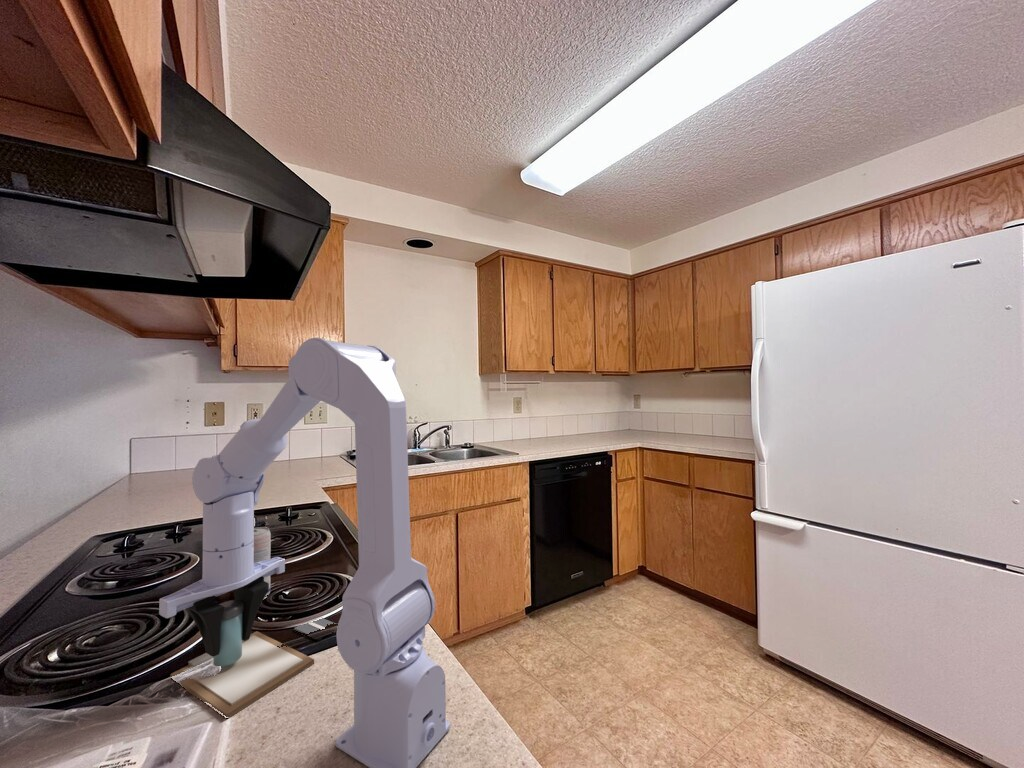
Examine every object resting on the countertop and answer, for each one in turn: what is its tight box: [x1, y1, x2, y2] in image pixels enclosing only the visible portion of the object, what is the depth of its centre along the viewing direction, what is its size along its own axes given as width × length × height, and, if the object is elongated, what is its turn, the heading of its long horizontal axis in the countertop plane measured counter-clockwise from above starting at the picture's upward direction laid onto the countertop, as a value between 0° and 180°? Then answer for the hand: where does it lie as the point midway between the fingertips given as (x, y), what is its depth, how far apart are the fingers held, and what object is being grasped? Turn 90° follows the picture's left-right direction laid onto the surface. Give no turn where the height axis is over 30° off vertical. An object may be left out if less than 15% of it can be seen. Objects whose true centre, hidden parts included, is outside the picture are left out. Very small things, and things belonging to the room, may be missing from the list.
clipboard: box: [170, 631, 315, 718], centre depth 55 cm, size 14×11×1 cm
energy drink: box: [254, 526, 272, 597], centre depth 75 cm, size 5×5×12 cm
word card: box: [293, 617, 337, 634], centre depth 65 cm, size 6×4×1 cm, turn 61°
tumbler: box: [213, 599, 243, 666], centre depth 55 cm, size 3×3×7 cm
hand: (228, 645), depth 55 cm, fingers closed on tumbler, 3 cm apart
